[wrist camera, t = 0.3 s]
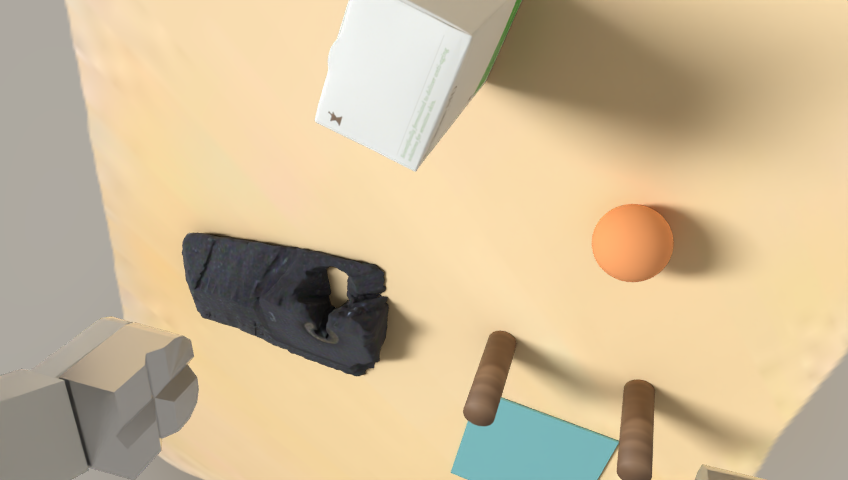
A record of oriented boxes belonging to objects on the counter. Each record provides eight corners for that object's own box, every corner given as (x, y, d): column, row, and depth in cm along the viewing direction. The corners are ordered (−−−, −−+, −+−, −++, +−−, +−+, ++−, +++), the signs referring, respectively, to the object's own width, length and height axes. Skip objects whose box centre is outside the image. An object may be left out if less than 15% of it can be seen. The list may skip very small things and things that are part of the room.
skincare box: (485, 83, 47) (417, 182, 34) (403, 42, 47) (307, 126, 34) (537, -30, 41) (479, 39, 29) (445, -75, 42) (349, -26, 29)
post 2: (629, 375, 57) (623, 457, 50) (659, 386, 56) (657, 470, 49) (619, 395, 58) (612, 476, 51) (648, 405, 58) (644, 489, 51)
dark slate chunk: (188, 199, 63) (157, 224, 59) (399, 265, 59) (380, 297, 55) (199, 314, 72) (173, 342, 68) (383, 378, 68) (366, 412, 64)
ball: (610, 181, 48) (603, 219, 43) (686, 204, 47) (687, 245, 42) (585, 240, 51) (577, 282, 46) (656, 263, 50) (654, 308, 46)
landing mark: (478, 389, 63) (478, 390, 63) (618, 441, 61) (618, 442, 61) (451, 471, 72) (450, 472, 72) (573, 519, 70) (573, 521, 69)
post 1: (492, 327, 59) (467, 398, 51) (519, 336, 58) (498, 410, 51) (485, 346, 60) (460, 419, 53) (512, 356, 60) (490, 430, 53)
